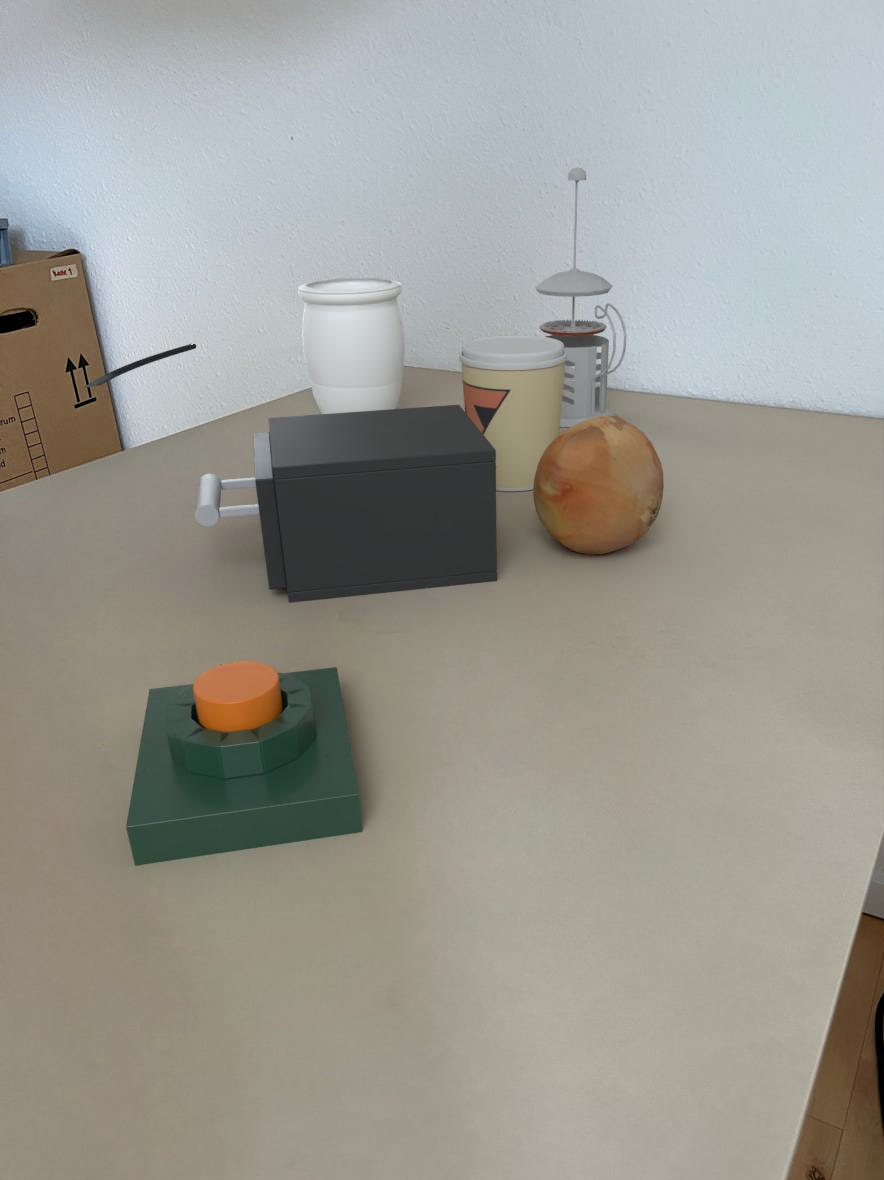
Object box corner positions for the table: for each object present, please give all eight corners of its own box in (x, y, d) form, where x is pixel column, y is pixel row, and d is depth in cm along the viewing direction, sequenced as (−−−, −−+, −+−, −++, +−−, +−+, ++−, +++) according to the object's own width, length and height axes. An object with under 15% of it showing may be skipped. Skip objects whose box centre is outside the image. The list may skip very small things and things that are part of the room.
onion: (558, 518, 80) (561, 396, 75) (676, 536, 76) (687, 408, 71) (509, 560, 72) (509, 427, 68) (638, 582, 68) (647, 443, 64)
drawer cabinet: (288, 603, 66) (272, 467, 62) (282, 537, 77) (268, 417, 73) (497, 581, 69) (495, 449, 64) (462, 520, 80) (459, 404, 75)
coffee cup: (447, 470, 92) (443, 340, 86) (536, 457, 95) (537, 330, 89) (487, 500, 84) (485, 359, 78) (582, 485, 87) (586, 348, 82)
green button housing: (156, 723, 53) (143, 659, 51) (340, 700, 55) (333, 637, 53) (134, 866, 43) (117, 792, 41) (362, 833, 44) (355, 760, 43)
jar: (366, 450, 98) (355, 294, 91) (290, 435, 103) (274, 287, 96) (428, 425, 106) (422, 280, 99) (354, 413, 111) (344, 274, 104)
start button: (200, 696, 48) (194, 665, 48) (281, 686, 49) (277, 656, 48) (196, 739, 45) (190, 707, 44) (284, 728, 46) (279, 696, 45)
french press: (568, 400, 115) (574, 165, 103) (645, 418, 107) (661, 166, 96) (508, 415, 109) (507, 168, 97) (586, 436, 101) (595, 170, 90)
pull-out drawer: (204, 596, 65) (186, 485, 62) (209, 536, 75) (194, 437, 72) (463, 570, 69) (460, 463, 65) (435, 515, 78) (431, 419, 75)
